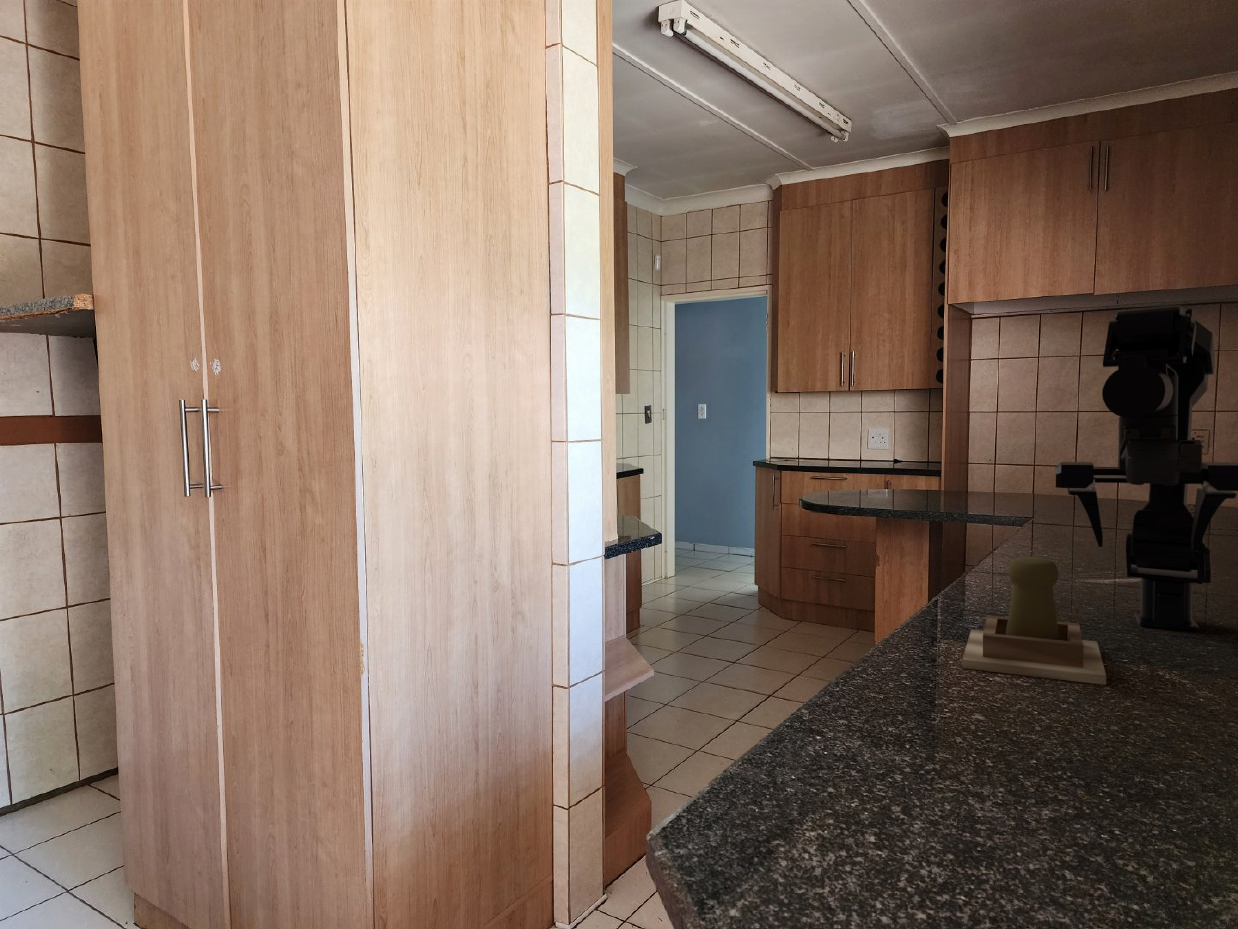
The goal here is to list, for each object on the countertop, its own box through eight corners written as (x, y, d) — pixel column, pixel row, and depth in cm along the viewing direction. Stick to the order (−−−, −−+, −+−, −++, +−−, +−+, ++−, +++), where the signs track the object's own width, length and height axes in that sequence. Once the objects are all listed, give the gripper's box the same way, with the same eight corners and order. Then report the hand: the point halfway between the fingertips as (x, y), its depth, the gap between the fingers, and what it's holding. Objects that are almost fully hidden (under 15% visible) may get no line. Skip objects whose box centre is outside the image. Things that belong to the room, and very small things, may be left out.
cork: (1069, 658, 89) (1070, 562, 88) (1011, 656, 90) (1012, 561, 90) (1051, 643, 95) (1052, 553, 94) (997, 641, 96) (998, 552, 96)
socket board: (971, 637, 102) (971, 610, 102) (1096, 649, 95) (1097, 621, 95) (962, 668, 90) (962, 638, 90) (1106, 685, 83) (1106, 652, 83)
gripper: (1055, 420, 89) (1055, 556, 90) (1265, 415, 80) (1262, 567, 81) (1056, 417, 99) (1055, 540, 100) (1243, 413, 89) (1240, 548, 90)
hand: (1146, 548), depth 92 cm, fingers open, 9 cm apart
